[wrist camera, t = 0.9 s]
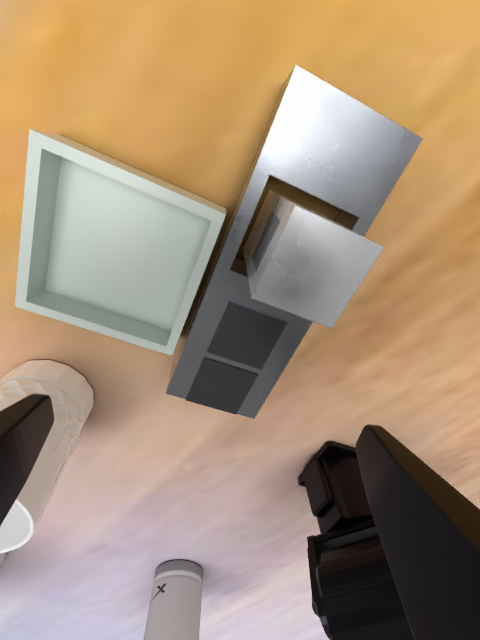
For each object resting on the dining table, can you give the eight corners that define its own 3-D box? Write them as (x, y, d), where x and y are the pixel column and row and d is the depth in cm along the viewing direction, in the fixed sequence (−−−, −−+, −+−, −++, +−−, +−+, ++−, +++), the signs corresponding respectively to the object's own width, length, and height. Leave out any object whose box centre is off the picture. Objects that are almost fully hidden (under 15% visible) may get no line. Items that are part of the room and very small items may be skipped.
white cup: (88, 350, 23) (-1, 466, 14) (111, 423, 27) (53, 552, 18) (-15, 354, 23) (-170, 475, 14) (23, 427, 26) (-81, 559, 18)
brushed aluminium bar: (325, 216, 19) (384, 247, 12) (295, 271, 20) (331, 328, 13) (268, 189, 18) (294, 205, 11) (242, 249, 20) (250, 297, 13)
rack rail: (392, 142, 17) (424, 138, 14) (251, 392, 25) (254, 419, 23) (284, 82, 15) (296, 64, 13) (172, 367, 24) (165, 394, 21)
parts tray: (226, 208, 18) (226, 214, 16) (178, 336, 22) (172, 355, 20) (57, 134, 16) (29, 128, 14) (38, 290, 20) (14, 306, 18)
